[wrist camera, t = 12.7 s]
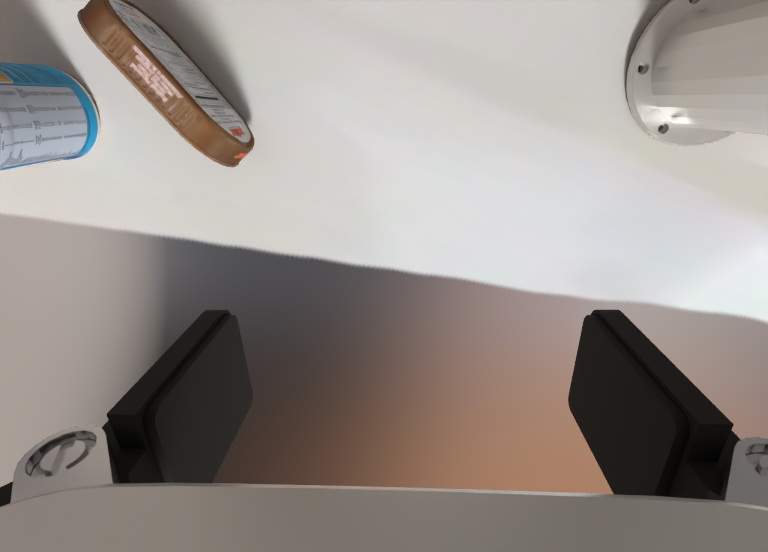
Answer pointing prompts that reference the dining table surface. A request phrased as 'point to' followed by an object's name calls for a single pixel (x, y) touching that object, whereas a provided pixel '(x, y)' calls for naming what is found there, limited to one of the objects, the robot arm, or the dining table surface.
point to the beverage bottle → (43, 116)
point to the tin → (167, 79)
